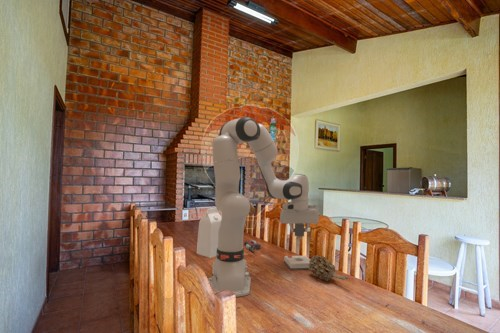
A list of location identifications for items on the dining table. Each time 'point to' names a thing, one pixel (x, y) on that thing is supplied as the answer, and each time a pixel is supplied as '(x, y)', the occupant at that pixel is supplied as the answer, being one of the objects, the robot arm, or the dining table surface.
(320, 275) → the pine cone
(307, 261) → the socket
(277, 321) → the dining table surface
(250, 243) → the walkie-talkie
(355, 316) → the dining table surface
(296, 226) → the plug
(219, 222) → the milk
